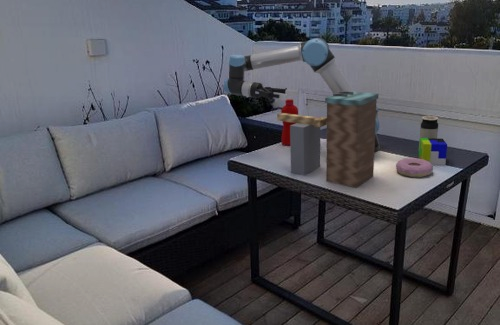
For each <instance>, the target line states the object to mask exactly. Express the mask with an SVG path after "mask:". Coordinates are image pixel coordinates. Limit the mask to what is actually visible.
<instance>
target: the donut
mask: <svg viewBox="0 0 500 325" xmlns="http://www.w3.org/2000/svg"><path fill="white" fill-rule="evenodd" d="M433 166H434V165H431V163H430V162H428V161H426V160H423V159H419V158H415V157H410V158H402V159H400V160H398V161H397V162H396V163H395V169H396V171H397V173H399V174H400V175H402V176H405V177H409V178H424V177H426V176H430V174H432V172H433V170H434V168H433Z"/></svg>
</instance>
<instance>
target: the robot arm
mask: <svg viewBox="0 0 500 325" xmlns="http://www.w3.org/2000/svg"><path fill="white" fill-rule="evenodd" d="M329 46H330V45H329V44H328V42H327V41H326V40H325V39H324V38H321V37H314V38H311V39H309V40H306V41H302V42H300V43H299V44H298V45H295V46H287V47H283V48H279V49H274V50H269V51H264V52H259V53H255V54H250V55H243V54H231V55H230V56H229V62H228V64H229V65H228V66H229V67H228V69H229V70H228V78H226V79H225V80H224V82H223V91H224V93H226V94H231V95H234V96H242V97H246V98H254V99H260V98H261V97H262V98H266V99H268V100H270V101H272V100H273V99H275V100H283V101H285V100H287V99H288V97H296V98H298V97H299V91H298V90H293V89H287V87H285V88H277V87H270V86H264V85H263V84H262V82H256V81H251V80H245V72H249V71H255V70H258V69H262V68H269V67H274V66H280V65H284V64H289V63H295V62H299V61H301V62H302V63H306V64H307V65H309V67H310V68H311V70H312V71H313V73H315V74H319V75H320V77H321V78H322V79H323V81H324V82H325V83H326V84H325V85H327V87H328V88H329V90H330V91H331V92H332V94H333V93H339V91H348V92H356V91H355V90H354V88H353V87H352V86H351V84H350V83H349V81H348V80H347V78H346V77H345V75H344V74H343V73H342V71H341V70H340V68H339V67H338V65H337V64H336V63H335V62H336V57H335V55H334V54H333V52H332V51H331V49H330V47H329ZM378 112H379V107H378V105H376V126H375V149H374V153H376V152H378V151H380V141H379V138H378V135H377V133H378V131H379V128H380V122H379V118H378Z"/></svg>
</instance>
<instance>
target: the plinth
mask: <svg viewBox="0 0 500 325" xmlns="http://www.w3.org/2000/svg"><path fill="white" fill-rule="evenodd" d="M320 167H321V127H314V125H308V124H300V123H296V124H293V125H290V173H292V174H295V175H296V174H297V175H300V176H305V175H307V174H310V173H311V172H313V171H315V170H316V169H318V168H320Z"/></svg>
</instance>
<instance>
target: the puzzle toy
mask: <svg viewBox="0 0 500 325" xmlns="http://www.w3.org/2000/svg"><path fill="white" fill-rule="evenodd" d="M419 141H420V147H419V146H418V159H423V160H426V161H428V162H430V163H431V165H432V166H446V162H447V151H448V143H447V142H446V141H445V139H444V138H438V137H437V138H420V137H419Z"/></svg>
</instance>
